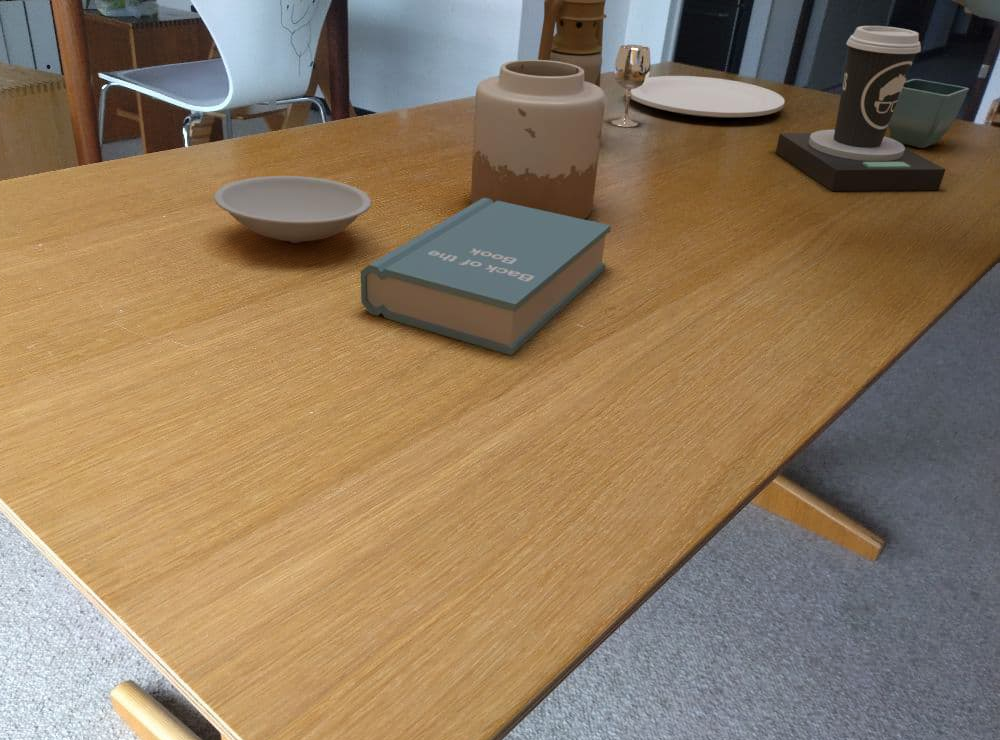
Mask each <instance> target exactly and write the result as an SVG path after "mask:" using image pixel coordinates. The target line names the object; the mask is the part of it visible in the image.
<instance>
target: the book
mask: <svg viewBox="0 0 1000 740" xmlns="http://www.w3.org/2000/svg"><path fill="white" fill-rule="evenodd" d="M610 232H611V225H610V224H606V223H601V222H596V221H592V220H587V219H584V220H583V219H579V218H574V217H570V216H565V215H561V214H556V213H552V212H547V211H543V210H538V209H533V208H529V207H524V206H520V205H515V204H511V203H506V202H502V201H496V202H495V203H493V202H492V200H491V199H488V198H482V199H480V200H479V201H477V202H475V203H473V204H472V203H471V204H470V205H468V206H467V207H465V208H463V209H461V210H460V211H458V212H456V213H455V214H453V215H451V216H449V217H448V218H446V219H445V220H442V221H441V222H439V223H437V224H436V225H434V226H433V227H431V228H429V229H427V230H426V231H424V232H422V233H421V234H418V235H417V236H416V237H414V238H412V239H410V240H408V241H407V242H405V243H403V244H402V245H400V246H398V247H396V248H395V249H393V250H391V251H390V252H388V253H386V254H384V255H383V256H381V257H379V258H378V259H376V260H374V261H373V262H371V263H370V264H368V265H366V266H365V267H364V268H362V270H360V302H361V304H362V305H363V307H364V308H365V309H366V310H367V312H368V313H369V314H370V315H374V316H379V315H382V316H383V317H384V319H388V320H390V321H394V322H398V323H401V324H404V325H408V326H411V327H415V328H418V329H421V330H425V331H428V332H432V333H434V334H438V335H441V336H444V337H448V338H452V339H455V340H458V341H461V342H464V343H468V344H472V345H475V346H478V347H482V348H485V349H488V350H492V351H495V352H498V353H502V354H506V355H508V356H513V355H514V354H515V353H516V352H517V351H518V350H519V349H521V347H522V346H523V345H525V344H526V343H527V342H528V341H529V340H530V339H531V338H532V337H534V335H536V334H537V333H538V332H539V331H540V330H541V329H542V328H543V327H544V326H545V325H546V324H548V323H549V322H550V321H551V320H552V319H553V318H554V317H556V315H557V314H558V313H560V311H562V310H563V309H564V308H566V306H567V305H568V304H569V303H571V301H573V299H574V298H576V297H577V296H578V295H579V294H580V293H582V292H583V290H584V289H586V288H587V287H588V286H589V285H590V284H591V283H592V282H594V280H595V279H596V278H597V277H598V276H600V275H601V274H602V273H603V272H604V271H605V270H606V263H605V262H603V257H604V251H605V242H606V236H607V235H608V234H609V233H610Z"/></svg>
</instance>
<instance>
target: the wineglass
mask: <svg viewBox="0 0 1000 740" xmlns="http://www.w3.org/2000/svg"><path fill="white" fill-rule="evenodd" d="M650 49H651V48H650V47H649V46H645V45H639V44H622V45H620V46H619V49H618V52H617V54H616V57H615V61H614V68H613V78H614V80H615V82H616V84H618V85H619V86H620V87H622V88H624V89H625V90H626V89H628V90H627V92H625V96H624V97H625V107H624V114H623V116H622V117H621V118H617V119H613V120H611V124H612V125H614V126H616V127H617V126H618V127H622V128H633V127H637V126H639V123H638V122H637V121H636V120H632V119H630V118H629V105H630V101H631V100H632V99H631V96H632V92H631V89H635V88H638V87H640V86H642V85H643V84H644V83H645V82H646V81H647V79H648V77H650V72H651V51H650Z"/></svg>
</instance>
